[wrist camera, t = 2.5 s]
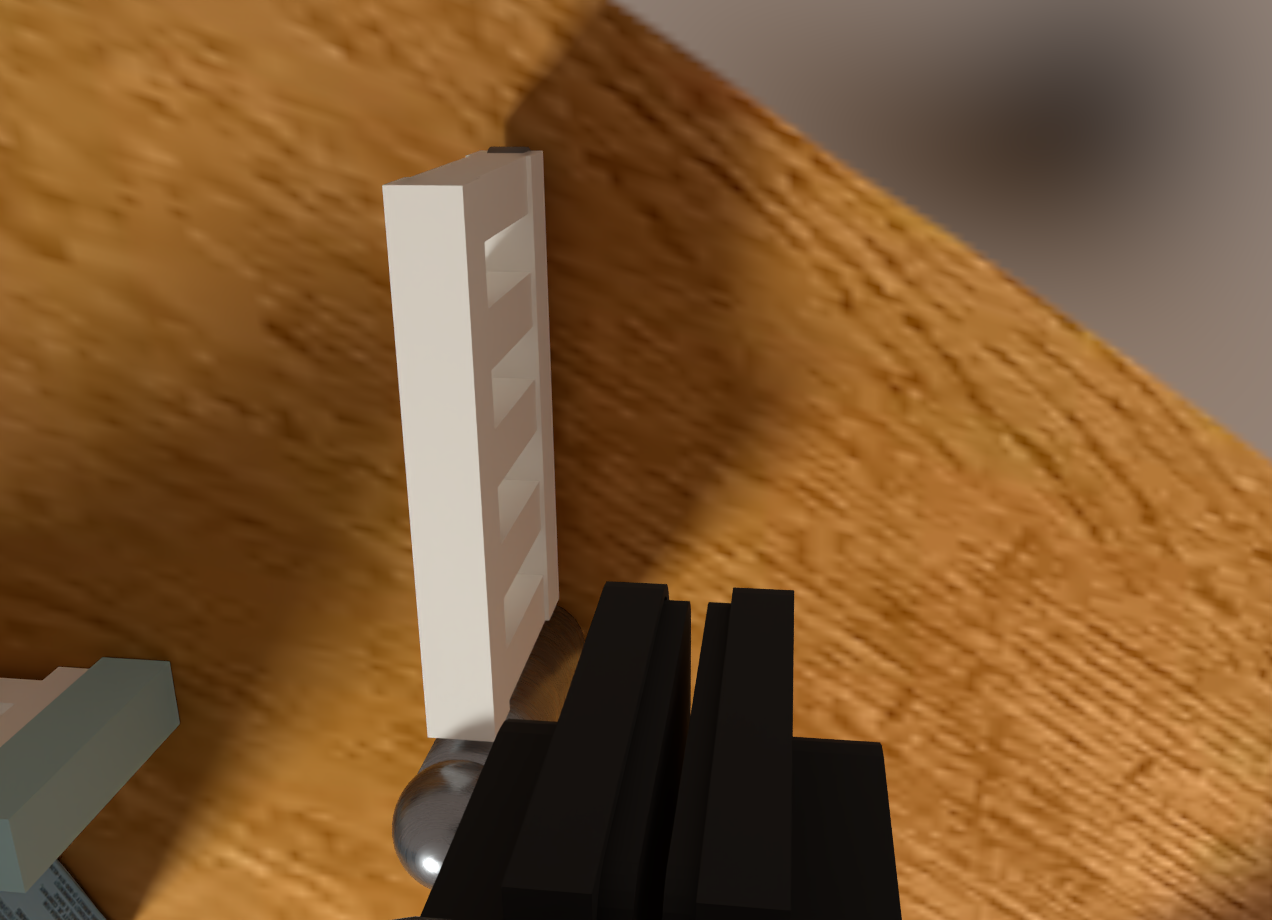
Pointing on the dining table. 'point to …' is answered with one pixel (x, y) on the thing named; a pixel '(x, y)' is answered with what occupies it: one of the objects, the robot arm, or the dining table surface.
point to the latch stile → (78, 760)
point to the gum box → (50, 899)
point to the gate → (475, 425)
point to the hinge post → (479, 753)
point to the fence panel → (30, 698)
